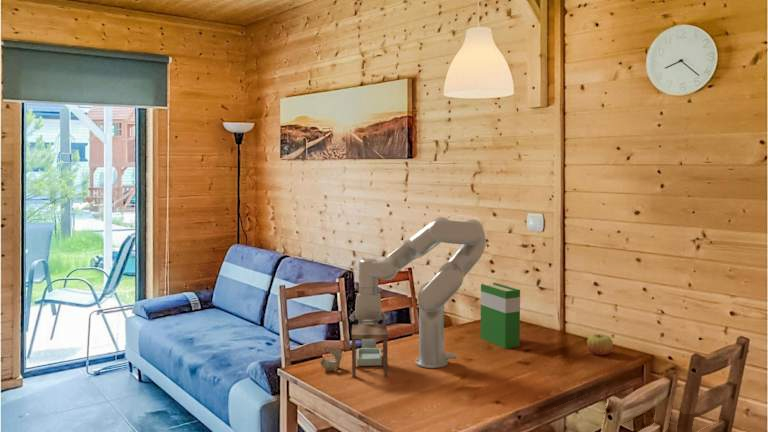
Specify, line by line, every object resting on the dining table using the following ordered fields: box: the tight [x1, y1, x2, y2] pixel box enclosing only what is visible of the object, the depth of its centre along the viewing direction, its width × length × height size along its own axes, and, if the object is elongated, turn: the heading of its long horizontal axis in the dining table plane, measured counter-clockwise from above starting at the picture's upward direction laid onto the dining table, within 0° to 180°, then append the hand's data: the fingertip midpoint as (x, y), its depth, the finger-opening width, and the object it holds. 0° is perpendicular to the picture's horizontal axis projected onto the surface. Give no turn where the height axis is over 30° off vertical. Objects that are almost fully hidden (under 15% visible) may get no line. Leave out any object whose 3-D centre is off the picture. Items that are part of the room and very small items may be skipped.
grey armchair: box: [356, 339, 383, 367], centre depth 247 cm, size 9×23×5 cm, turn 2°
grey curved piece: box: [320, 345, 343, 373], centre depth 232 cm, size 9×6×10 cm
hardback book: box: [479, 282, 521, 349], centre depth 265 cm, size 18×7×24 cm, turn 26°
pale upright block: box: [361, 320, 375, 341], centre depth 241 cm, size 5×5×7 cm
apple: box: [586, 333, 614, 356], centre depth 249 cm, size 10×10×8 cm
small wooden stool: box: [351, 323, 389, 378], centre depth 230 cm, size 13×14×16 cm
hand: (368, 335), depth 241 cm, fingers closed on pale upright block, 5 cm apart
